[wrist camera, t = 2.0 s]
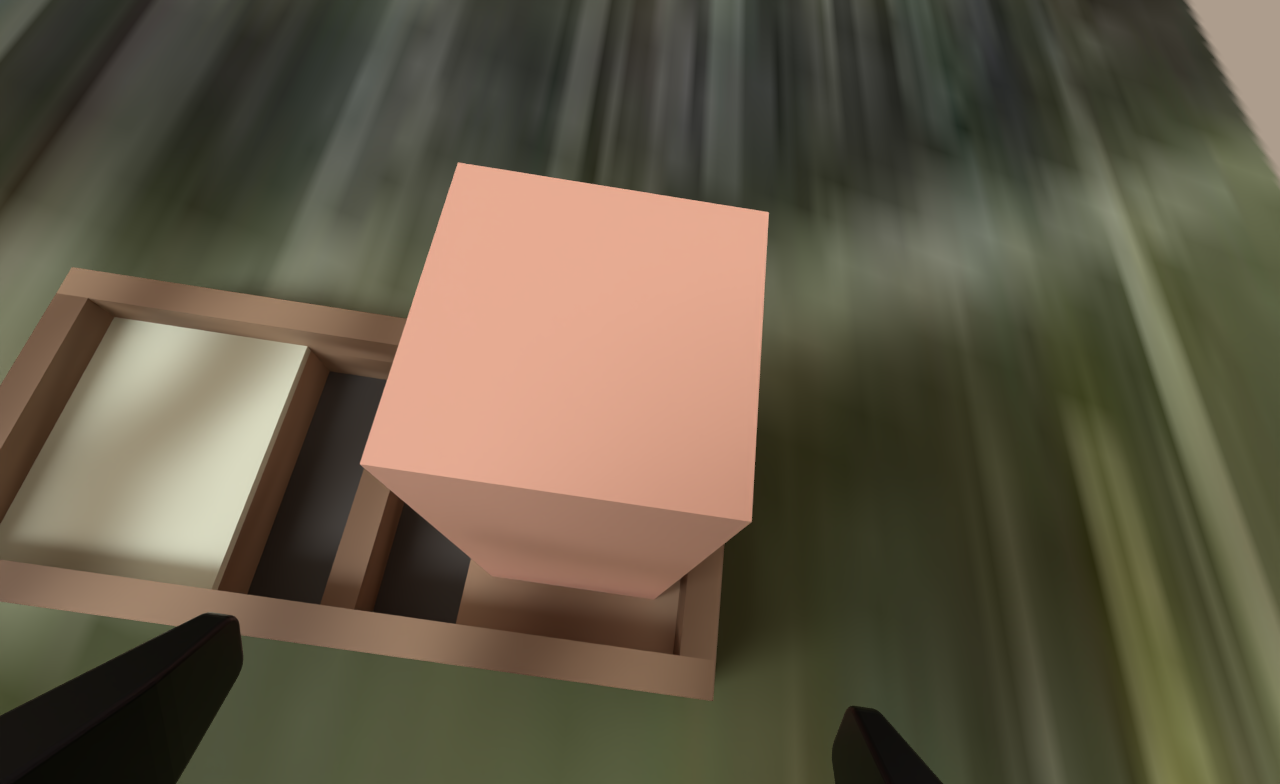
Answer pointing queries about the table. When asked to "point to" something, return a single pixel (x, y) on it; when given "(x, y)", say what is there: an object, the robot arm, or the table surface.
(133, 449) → the box
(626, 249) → the coral block
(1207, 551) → the table surface
